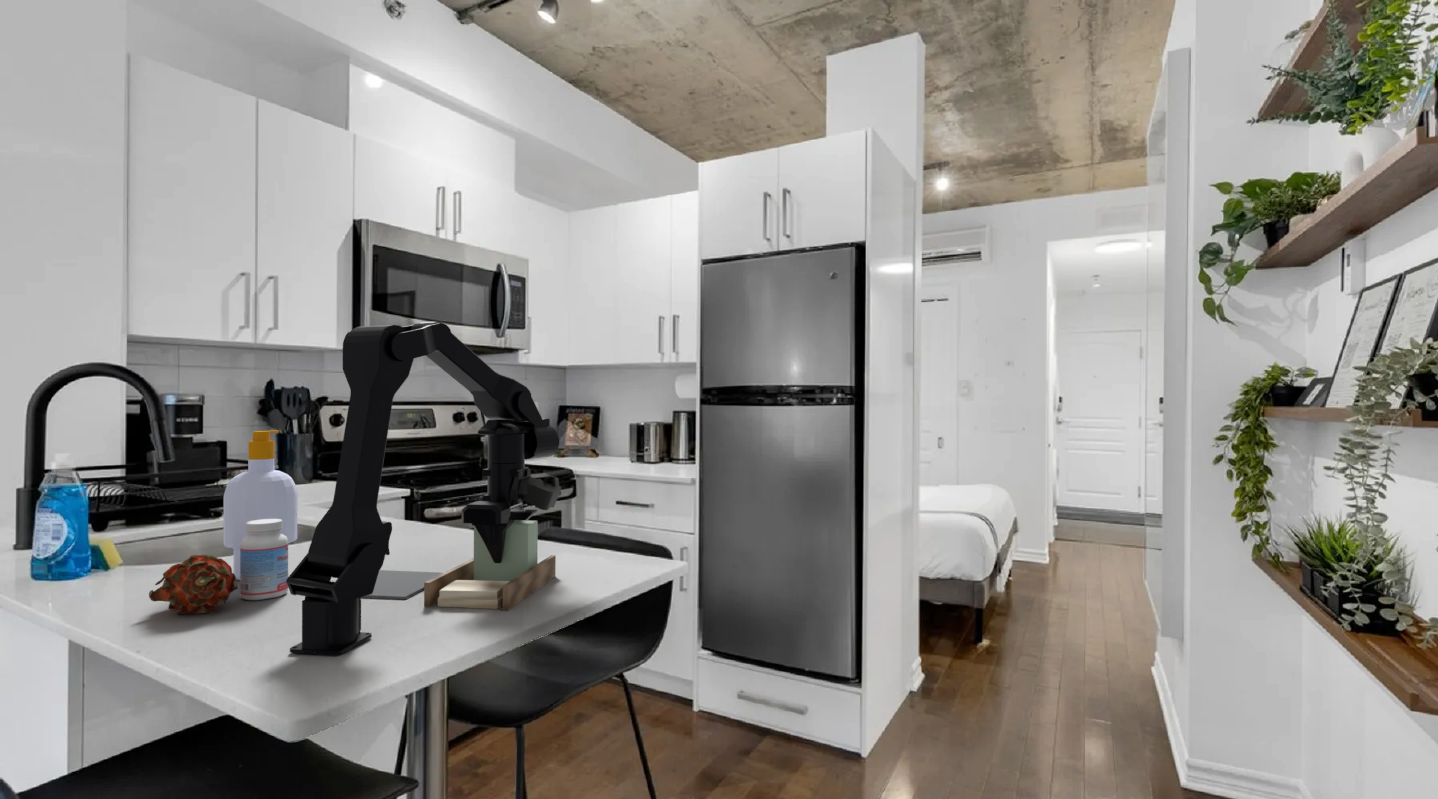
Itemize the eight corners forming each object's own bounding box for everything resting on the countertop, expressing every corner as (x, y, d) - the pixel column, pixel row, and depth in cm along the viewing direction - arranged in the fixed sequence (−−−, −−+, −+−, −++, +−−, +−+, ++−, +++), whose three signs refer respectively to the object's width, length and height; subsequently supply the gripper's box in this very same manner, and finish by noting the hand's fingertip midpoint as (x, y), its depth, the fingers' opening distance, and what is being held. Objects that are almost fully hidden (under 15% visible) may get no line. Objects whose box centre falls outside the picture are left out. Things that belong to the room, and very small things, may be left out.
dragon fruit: (219, 630, 94) (168, 630, 99) (267, 581, 101) (217, 583, 106) (173, 588, 90) (122, 591, 95) (226, 539, 97) (176, 544, 102)
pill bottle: (289, 597, 104) (289, 522, 104) (240, 603, 101) (240, 526, 101) (287, 587, 109) (287, 516, 109) (240, 593, 106) (240, 520, 106)
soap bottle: (311, 570, 120) (312, 430, 120) (259, 586, 110) (259, 433, 110) (262, 566, 122) (262, 429, 122) (207, 582, 112) (207, 432, 112)
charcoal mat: (405, 599, 104) (405, 596, 104) (318, 595, 105) (318, 592, 105) (452, 575, 118) (452, 572, 118) (374, 572, 119) (374, 569, 119)
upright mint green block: (527, 588, 110) (528, 525, 110) (473, 586, 111) (473, 523, 111) (537, 581, 114) (537, 520, 114) (484, 579, 115) (485, 519, 115)
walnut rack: (508, 610, 99) (508, 585, 99) (424, 606, 100) (424, 582, 100) (555, 576, 117) (555, 555, 117) (484, 573, 119) (484, 552, 119)
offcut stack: (496, 609, 99) (496, 592, 99) (436, 606, 100) (436, 590, 100) (514, 596, 105) (514, 581, 105) (458, 594, 106) (458, 578, 106)
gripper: (532, 469, 102) (531, 575, 102) (573, 457, 121) (572, 547, 121) (460, 467, 104) (459, 572, 104) (511, 456, 122) (511, 545, 122)
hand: (505, 558), depth 113 cm, fingers open, 6 cm apart
